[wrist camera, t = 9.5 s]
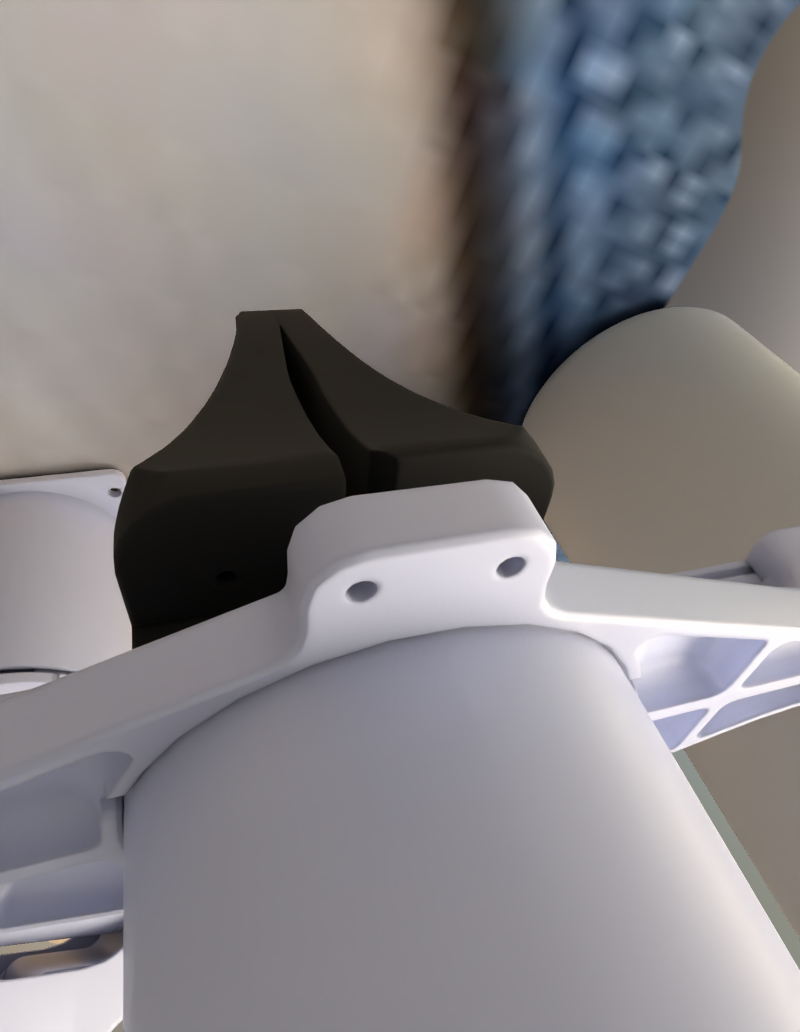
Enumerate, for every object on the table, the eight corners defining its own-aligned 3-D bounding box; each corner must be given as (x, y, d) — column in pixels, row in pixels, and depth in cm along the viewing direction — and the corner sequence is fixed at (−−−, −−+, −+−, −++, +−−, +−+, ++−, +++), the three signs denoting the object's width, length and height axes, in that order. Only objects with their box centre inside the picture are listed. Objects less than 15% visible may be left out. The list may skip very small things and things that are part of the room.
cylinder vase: (571, 533, 39) (895, 1042, 23) (465, 426, 31) (861, 1120, 14) (762, 403, 36) (1312, 895, 19) (702, 239, 27) (1611, 879, 10)
